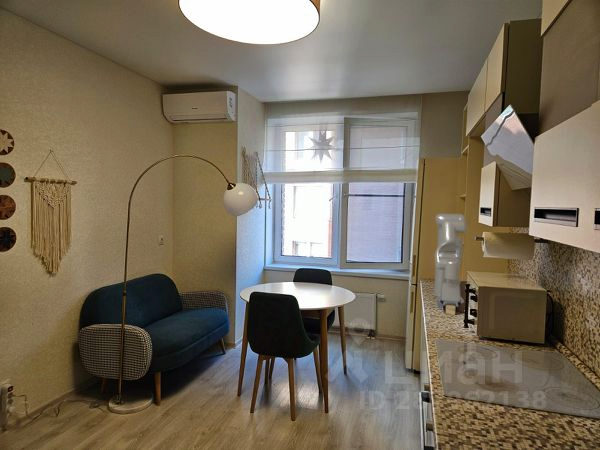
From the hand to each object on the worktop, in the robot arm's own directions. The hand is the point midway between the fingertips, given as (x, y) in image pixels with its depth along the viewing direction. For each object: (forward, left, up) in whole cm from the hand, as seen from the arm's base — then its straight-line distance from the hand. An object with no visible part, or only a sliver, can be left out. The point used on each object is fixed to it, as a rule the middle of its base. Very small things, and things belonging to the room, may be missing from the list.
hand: (450, 312), depth 215 cm
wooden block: (-7, +10, -1) cm, 13 cm away
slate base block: (-16, 0, -1) cm, 16 cm away
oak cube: (0, 0, -1) cm, 1 cm away
